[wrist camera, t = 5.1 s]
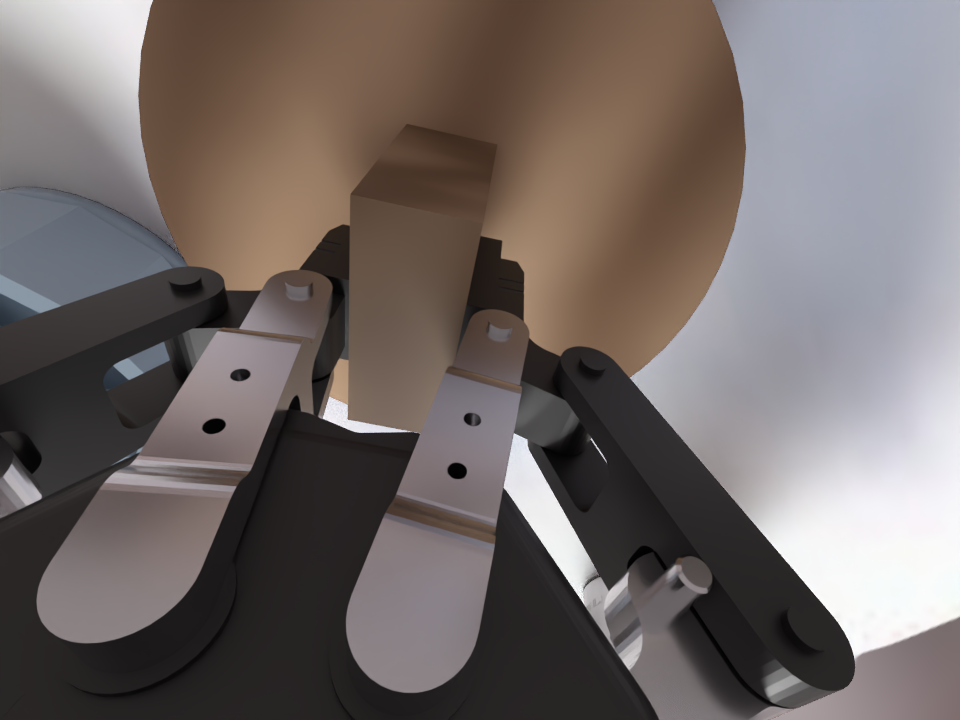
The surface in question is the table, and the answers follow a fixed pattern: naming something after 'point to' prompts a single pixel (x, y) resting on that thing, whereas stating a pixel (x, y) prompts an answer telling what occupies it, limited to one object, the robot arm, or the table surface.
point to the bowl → (74, 260)
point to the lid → (451, 165)
